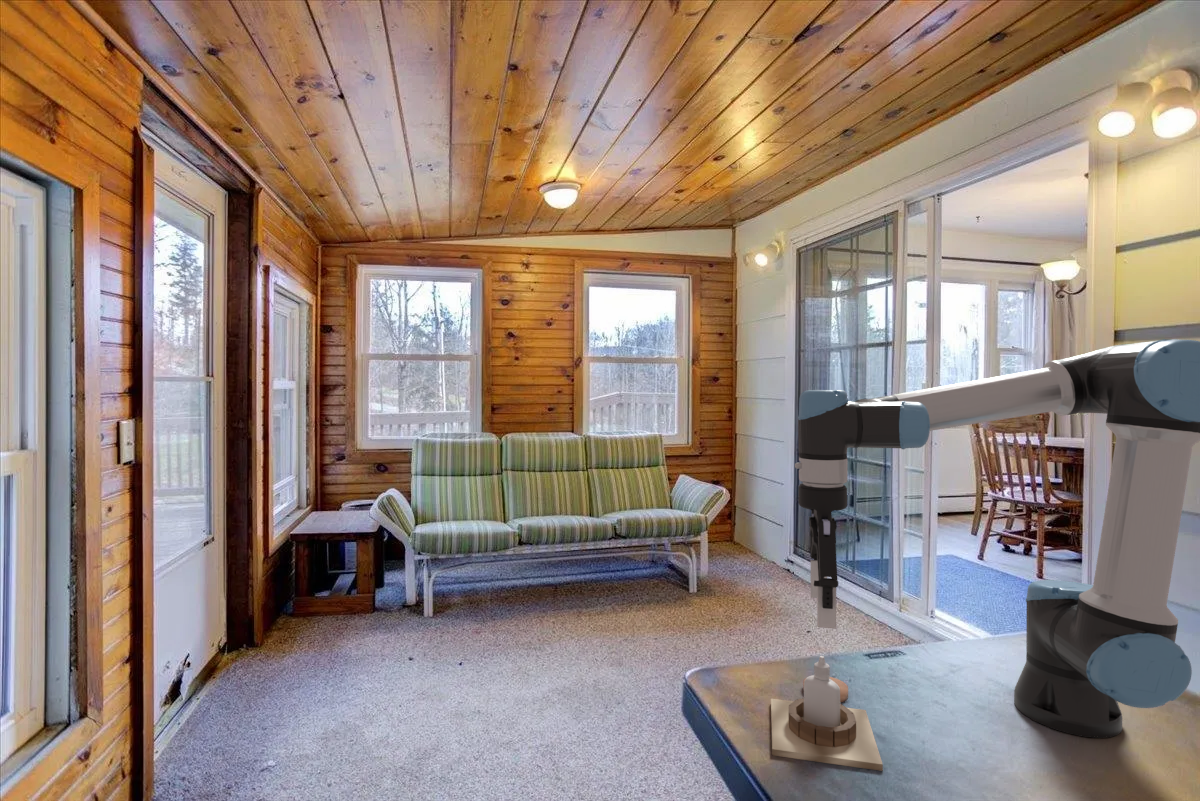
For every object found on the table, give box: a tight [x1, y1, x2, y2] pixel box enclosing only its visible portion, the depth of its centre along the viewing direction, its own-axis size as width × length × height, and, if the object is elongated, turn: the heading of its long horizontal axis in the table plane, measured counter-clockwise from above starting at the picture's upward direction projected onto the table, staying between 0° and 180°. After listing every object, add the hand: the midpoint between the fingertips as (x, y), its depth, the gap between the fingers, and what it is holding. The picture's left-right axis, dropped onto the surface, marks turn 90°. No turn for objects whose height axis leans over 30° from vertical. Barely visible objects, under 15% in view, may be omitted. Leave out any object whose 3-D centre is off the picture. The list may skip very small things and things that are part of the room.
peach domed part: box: [802, 676, 849, 704], centre depth 116 cm, size 8×8×2 cm
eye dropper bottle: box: [803, 655, 841, 727], centre depth 102 cm, size 4×6×12 cm
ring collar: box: [770, 697, 884, 772], centre depth 102 cm, size 16×16×4 cm
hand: (822, 611), depth 102 cm, fingers open, 13 cm apart
